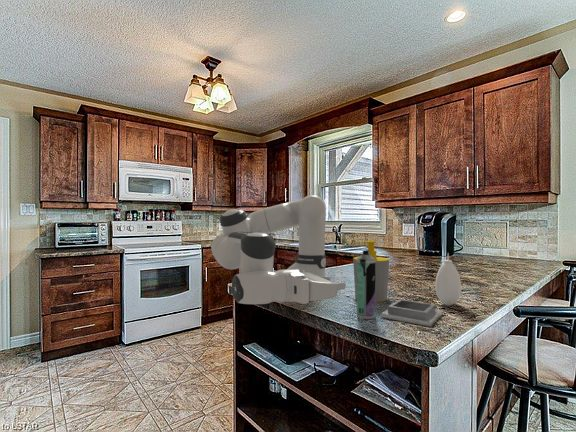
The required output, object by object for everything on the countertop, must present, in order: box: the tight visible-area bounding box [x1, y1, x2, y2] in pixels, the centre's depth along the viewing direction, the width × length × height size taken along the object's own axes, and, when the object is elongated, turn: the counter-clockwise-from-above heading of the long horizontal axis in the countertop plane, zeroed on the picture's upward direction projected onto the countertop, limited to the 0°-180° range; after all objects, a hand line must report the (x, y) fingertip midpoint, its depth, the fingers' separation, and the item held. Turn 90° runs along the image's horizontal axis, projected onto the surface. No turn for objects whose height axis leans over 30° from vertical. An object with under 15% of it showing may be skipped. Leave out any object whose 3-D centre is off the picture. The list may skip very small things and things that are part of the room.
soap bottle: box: [352, 240, 390, 303], centre depth 122 cm, size 13×13×21 cm
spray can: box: [356, 249, 376, 320], centre depth 99 cm, size 6×6×20 cm
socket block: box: [380, 298, 443, 327], centre depth 100 cm, size 14×14×3 cm
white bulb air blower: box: [434, 252, 462, 306], centre depth 113 cm, size 8×8×18 cm
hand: (336, 282), depth 96 cm, fingers open, 8 cm apart
